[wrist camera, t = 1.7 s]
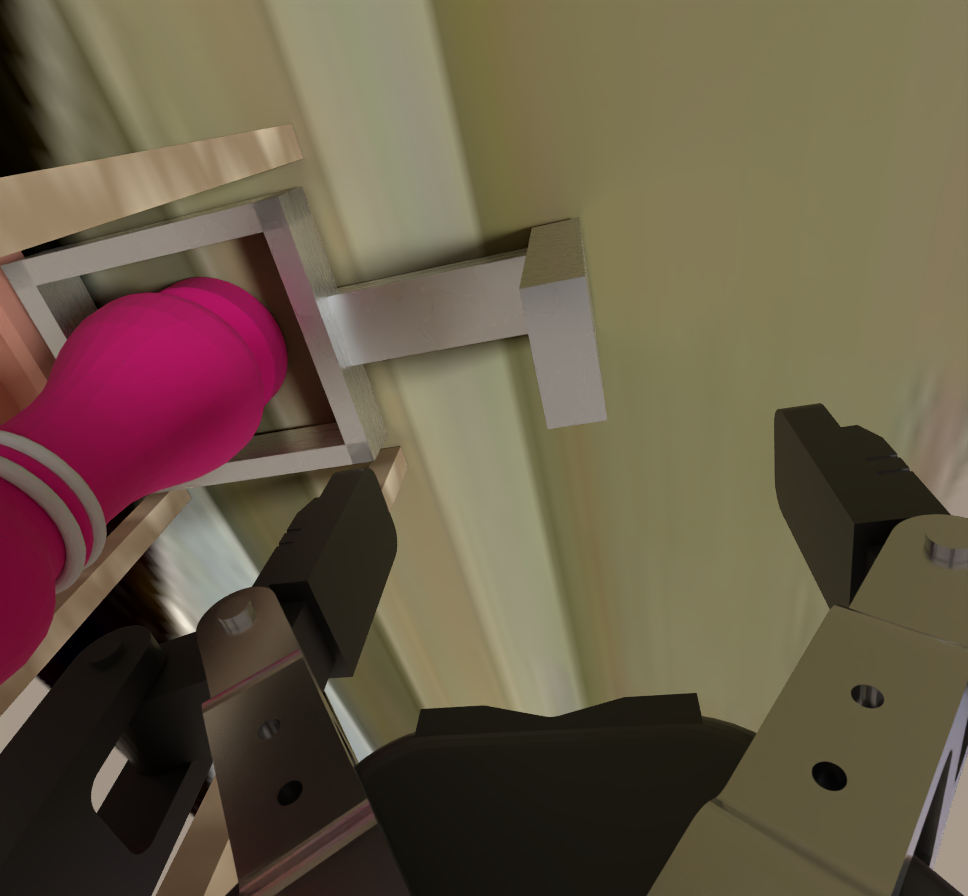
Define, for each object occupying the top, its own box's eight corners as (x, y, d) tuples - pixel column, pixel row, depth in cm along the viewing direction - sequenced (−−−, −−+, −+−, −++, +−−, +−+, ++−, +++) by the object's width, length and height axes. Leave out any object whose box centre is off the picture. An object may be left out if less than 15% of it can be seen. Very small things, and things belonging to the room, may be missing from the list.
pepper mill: (325, 324, 27) (-75, 744, 10) (266, 442, 31) (-107, 903, 14) (167, 230, 26) (-599, 532, 9) (124, 365, 29) (-486, 769, 12)
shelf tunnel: (2, 203, 26) (-2147, 698, 5) (291, 124, 23) (-1812, 511, 3) (171, 501, 33) (-471, 1201, 13) (407, 467, 31) (82, 1290, 10)
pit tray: (-76, 267, 28) (-127, 282, 26) (16, 243, 27) (-29, 257, 25) (70, 489, 34) (38, 516, 32) (150, 477, 33) (123, 504, 31)
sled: (43, 251, 27) (-136, 312, 20) (564, 121, 22) (564, 141, 15) (164, 468, 32) (55, 576, 25) (606, 399, 27) (620, 508, 20)
